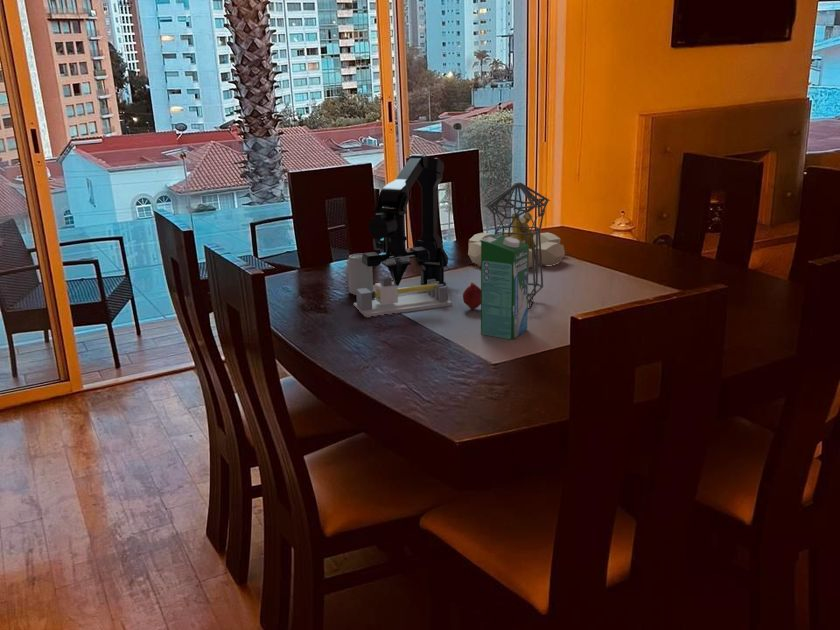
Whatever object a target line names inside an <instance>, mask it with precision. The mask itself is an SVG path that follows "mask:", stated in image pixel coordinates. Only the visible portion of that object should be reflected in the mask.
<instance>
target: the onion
mask: <svg viewBox="0 0 840 630" xmlns="http://www.w3.org/2000/svg"><path fill="white" fill-rule="evenodd" d="M462 300H463V302H464V304H465V305H466V306H467V307H468V308H469V309H470V310H472V311H473V310H476V309H477V308H478V307H481V287H479V286H478V285H476V284H475V283H474V282H473V281H471V282H470V285H469V286H467V288H466V289H465V290H464V291H463V293H462Z"/></svg>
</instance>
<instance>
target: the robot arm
mask: <svg viewBox="0 0 840 630" xmlns="http://www.w3.org/2000/svg"><path fill="white" fill-rule="evenodd" d="M444 171H445V164H444V162H443V161H442V160H441V158H439V157H430V156H428V155H425V154H424V153H423V154H421V153H420V154H419V153H416V154H415V153H413V154H410V155H409V156H408V159H407V162H406V164H404V166H403V167H402V169H401V170H400V172H399V173H398V175H397V176H396V178H395V179H394V180H393V181H390V182H387V183H386V184H385V185H384V186H383V188H381V190H380V192H379V195H378V197H377V201H376V205H375V209H374V218H373V219H372V220H370V222H369V225H368V232H369V234H370V236H371V237H372V238H373V240H372V246H373V247H372V248H373V250H374V251H373V252H372V251H371V252H364V253H362V254H363V255H362V263H363V264H365V265H366V266H368V267H371V266H372V267H376V266H377V267H378V266H380V265H381V264H382V265H383V266H385V267H386V268H387V269H388V271H389V274H390V275H391V278H392V282H393V283H394V284H396V285H397V287H398V286H400V283H401V281H402V278H403V276H404V273H405V272H406V270H407V268H408V266H410V265H412V262H411V261H410V259H413V258H416V263H417V266H421V269H420V281H419V282H420V284H421V285H427V280H430V279H435V280H436V281H439V284H443V285H444V286H445V285H447V283H446V282H445V273H444V272H445V267H447V266H448V264H449V256H448V255H447V253H446V251H445V249H444V243H443V241H442V239H441V237H440V235H439V234H438V186H439V185H440V183H441V181H442V179H443V178H444V177H443V175H444V174H443V173H444ZM416 181H417V183H418V184H419V186H420V187H421V236H420V237H419V238H418V240H417V241H416V242H415V247H411V248H409V251H407V249H406V248H407V247H406V245H407V244H406V241H407V239H408V238H407V237H408V236H406V218H405V215H407V213H408V211H407V210H406V208H407V205H408V204H409V200H410V199H411V197H410V194H409V193H410V190H411V188H412V187H413V185H414V184H415V182H416ZM375 251H379V252H380V253H377V252H375Z"/></svg>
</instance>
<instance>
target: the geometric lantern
mask: <svg viewBox="0 0 840 630" xmlns="http://www.w3.org/2000/svg"><path fill="white" fill-rule="evenodd" d="M521 193H523V194H524V196H525V197H526V199H527V200H528V201H523V200H522V196H521ZM513 194H514V199H512V196H513ZM508 195H509V196H508ZM535 195H536V196H535ZM507 196H508V198H506V197H507ZM537 196H538V197H540V198H538V197H537ZM517 197H518V198H519V199H518V200H517ZM501 201H504V202H505V205H501V204H500V205H499V203H501ZM549 201H551V199H549V198H547V197H546V196H544V195H542V194H541V193H539V192H537V191H535V190H534V189H532V188H531V187H529V186H527V185H526V184H524V183H523V182H515V183H513V184H512V185H511V186H510V187H509V188H507V189H506V190H504V191H503V192H501V193H500V194H498V195H497V196H496V197H494V198H493V199H491V200H489V202H487V203H486V204H485V206H486V208H487V209H488V210H489V211H490V212H491V213H492V215H493V223H494V234H496V233H500V234H502V235H504V234H508V237H510V234H520V235H525V244H527V235H531V242H532V262H533V266H532V277H533V278H532V280H533V283H531V282H528V286H533V289H532V291H531V292H530V293H529V292H528V307H530V305H531V301H530V300H533V301H534V297H535V296H536V295H537V294H538V293H539V292H540V291H541V290H542V289H543V288H544V278H543V277H544V276H543V265H542V257H541V239H540V233H541V230H542V225H543V220H544V216H545V214H546V213H545V212H546V207H547V205H548V203H549ZM511 202H514V203H511ZM517 203H520V206H517ZM523 204H526V205H525V206H523ZM529 204H530V205H529ZM528 205H529V206H528ZM499 208H501V209H503V210H504V213H502V212H500V211H499V210H498V209H499ZM507 208H509V209H513V212H514V213H513V214H515V216H512V215H511V216H510V215H509V216H507V211H506V209H507ZM535 208H537V215H536V216H535V219H534V220H533V217H532V218H531V216H532V215H531V216H530V214H531V213H530V212H531V211H533V210H534V209H535ZM516 211H517V212H516ZM516 213H517V214H516ZM525 213H528V215H529V216H530V218H531V220H530V221H531V222H532V226H529V227H525V226H523V225H522V223H521V221H520V220H519V218H520V216H522V215H524V214H525ZM529 213H530V214H529ZM496 216H497V219H498V220H499V222H500V224H499V225H498V226H497V221H496ZM500 216H501V217H503V219H502V220H501V217H500ZM518 216H519V218H518ZM540 217H541V218H540ZM512 218H514V219H513V220H512ZM516 218H517V220H518V221H519V223H520V225H521V226H512V224H513V222H514V220H515V219H516ZM538 218H540V222H539V227H538V226H536V224H535V223H536V221H537V219H538ZM505 219H506V220H508V219H511V222H510V224H509V225H504V224H503V223H504V221H505ZM512 227H516V228H523V230H524V231H525V233H510V230H511V228H512ZM525 228H529V229H531V230H530V232H529V233H527V231H526V230H525ZM505 229H507V230H508V233H506V232H504V231H505ZM533 229H535V231H533V232H534V233H531V231H532V230H533ZM500 230H502V231H500ZM533 234H534V235H536V256H535V251H534V243H533ZM538 237H539V254H540V266H539V263H538ZM534 259H535V263H536V265H535V264H534ZM538 267H539V268H538ZM539 269H540V284H539V282H538V281H539V280H538V277H539V276H538V275H539V271H538V270H539ZM537 286H538V287H539V288H538V289H537Z"/></svg>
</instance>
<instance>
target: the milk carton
mask: <svg viewBox="0 0 840 630" xmlns="http://www.w3.org/2000/svg"><path fill="white" fill-rule="evenodd" d="M493 234H494V235H492V236H489V237H487V238H484V239H482V240H481V267H480V289H481V305H480V335H483V336H488V337H495V338H500V339H506V340H512V341H513V340H514V339H516V338H517V337H518V336H520V335H522V332H523V331H524V332H526V331H527V330H528V314H529V313H528V307H529V302H528V299H529V297H528V293H529V285H528V283H529V270H530V268H529V245H528V244H525V243H523V242H520V241H519V240H518V239H515V238H512V237H507V236H504V235H501V234H499V233H496V234H495V233H493ZM526 329H527V330H526ZM525 330H526V331H525ZM524 332H523V333H524Z"/></svg>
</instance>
